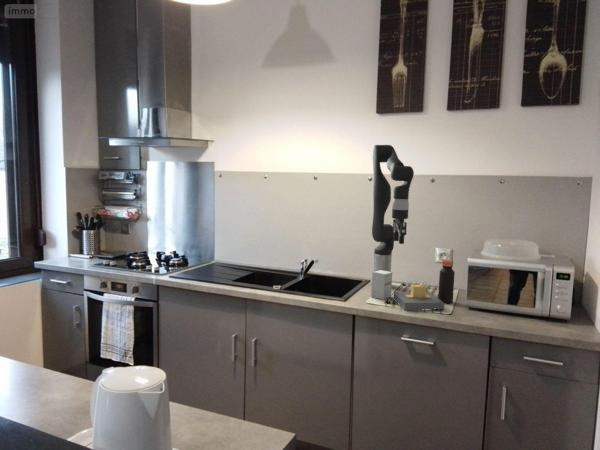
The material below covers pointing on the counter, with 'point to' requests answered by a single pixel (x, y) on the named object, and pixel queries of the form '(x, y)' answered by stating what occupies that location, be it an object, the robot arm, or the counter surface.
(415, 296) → the servo block
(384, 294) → the supplement box
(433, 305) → the plate
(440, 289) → the bottle
